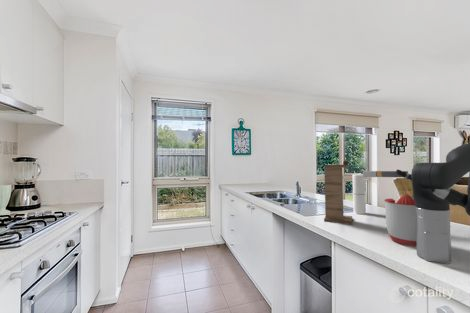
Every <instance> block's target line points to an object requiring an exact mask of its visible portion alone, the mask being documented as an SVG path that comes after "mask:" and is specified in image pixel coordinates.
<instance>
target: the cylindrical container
mask: <svg viewBox="0 0 470 313" xmlns="http://www.w3.org/2000/svg"><path fill="white" fill-rule="evenodd" d="M351 177H352V205H353V206H352V208H353V212H352V213H354V214H355V213H356V214H357V215H366V214H367V209H366V206H367V205H366V200H367V199H366V177H363V173H362V174H361V173H358V174H355V173H354V174H352V176H351ZM356 214H355V215H356Z"/></svg>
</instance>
